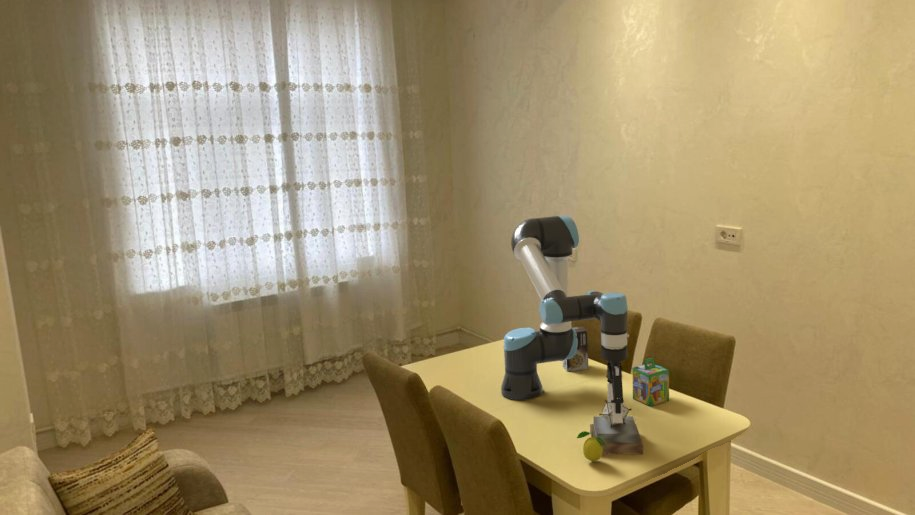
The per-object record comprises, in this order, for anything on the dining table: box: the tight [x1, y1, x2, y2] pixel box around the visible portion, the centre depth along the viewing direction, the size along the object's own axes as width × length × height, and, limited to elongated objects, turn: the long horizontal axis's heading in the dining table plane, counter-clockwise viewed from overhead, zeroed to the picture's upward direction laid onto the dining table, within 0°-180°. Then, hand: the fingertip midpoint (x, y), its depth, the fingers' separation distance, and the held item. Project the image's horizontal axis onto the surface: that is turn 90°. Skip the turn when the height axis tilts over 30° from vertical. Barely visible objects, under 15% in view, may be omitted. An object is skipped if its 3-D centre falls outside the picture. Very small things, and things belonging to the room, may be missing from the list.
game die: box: [598, 398, 633, 428], centre depth 201 cm, size 9×8×10 cm
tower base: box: [589, 415, 644, 455], centre depth 202 cm, size 14×14×6 cm
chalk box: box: [631, 357, 670, 407], centre depth 232 cm, size 9×9×15 cm
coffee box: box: [561, 325, 589, 372], centre depth 267 cm, size 9×6×16 cm
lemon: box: [576, 429, 607, 463], centre depth 191 cm, size 7×6×10 cm
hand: (614, 412), depth 201 cm, fingers open, 13 cm apart
